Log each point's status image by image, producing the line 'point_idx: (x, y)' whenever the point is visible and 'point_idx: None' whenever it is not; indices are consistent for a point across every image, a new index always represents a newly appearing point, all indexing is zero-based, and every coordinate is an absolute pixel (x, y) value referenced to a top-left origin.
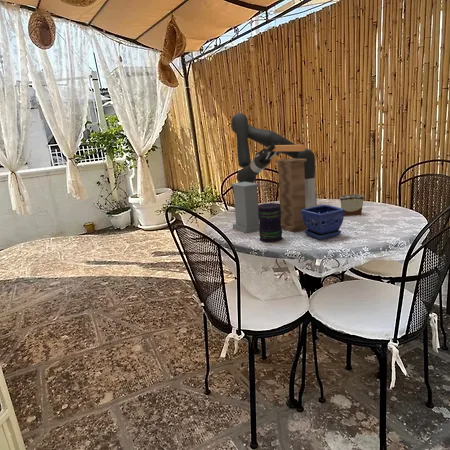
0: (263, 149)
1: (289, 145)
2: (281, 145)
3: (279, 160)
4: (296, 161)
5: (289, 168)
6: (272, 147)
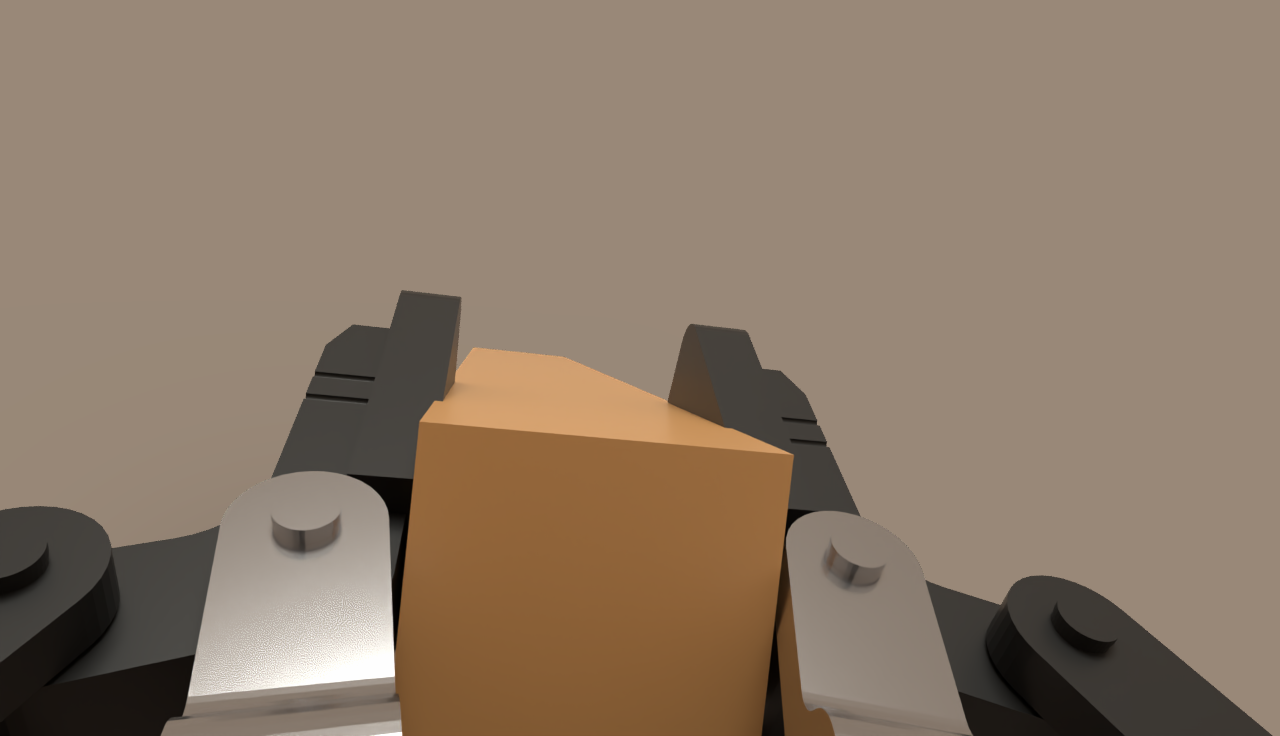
0: (1119, 638)
1: (568, 365)
2: (560, 378)
3: None
4: None
5: None
6: None
